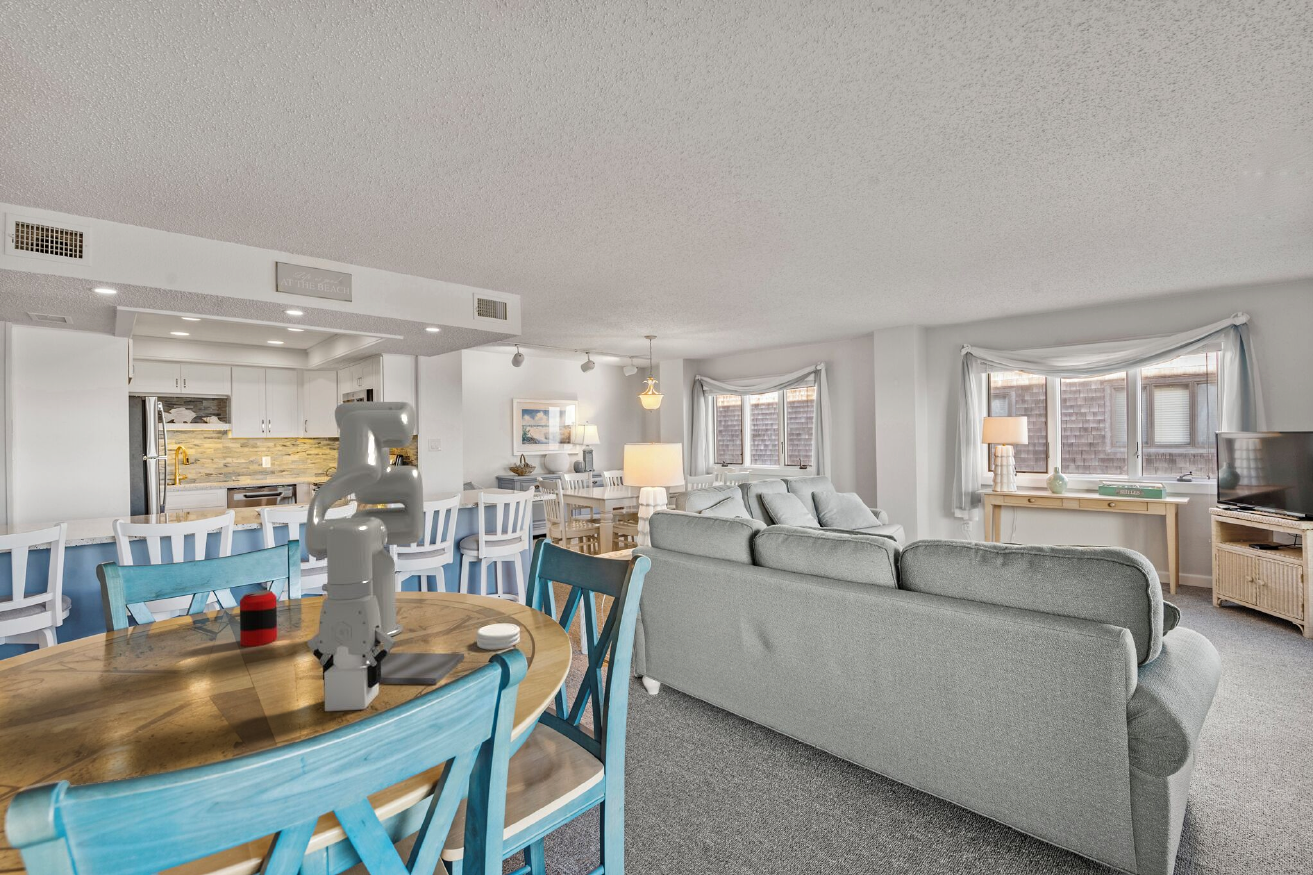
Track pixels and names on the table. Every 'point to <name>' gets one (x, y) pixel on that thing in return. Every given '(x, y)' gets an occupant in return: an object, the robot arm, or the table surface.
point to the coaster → (498, 636)
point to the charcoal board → (417, 667)
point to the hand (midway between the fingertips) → (352, 684)
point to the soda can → (258, 618)
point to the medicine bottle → (348, 683)
